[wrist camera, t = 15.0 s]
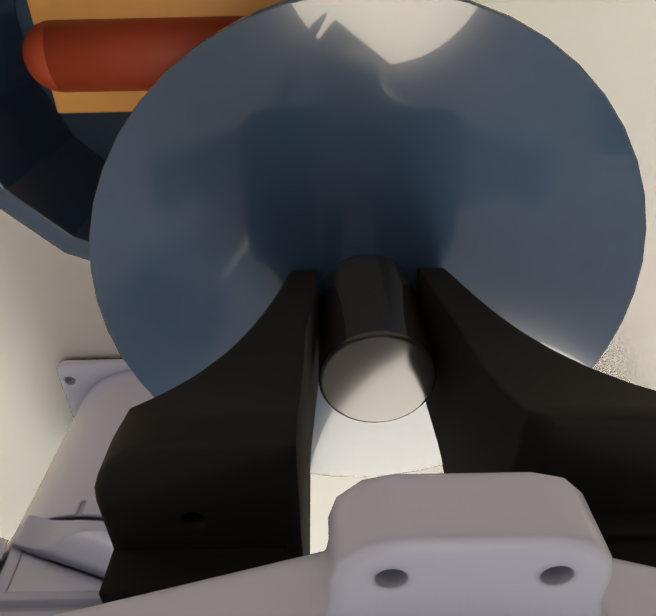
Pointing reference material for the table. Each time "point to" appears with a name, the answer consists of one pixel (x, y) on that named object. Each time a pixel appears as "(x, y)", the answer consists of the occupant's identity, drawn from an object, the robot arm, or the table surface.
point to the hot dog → (117, 45)
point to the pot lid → (366, 204)
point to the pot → (47, 147)
